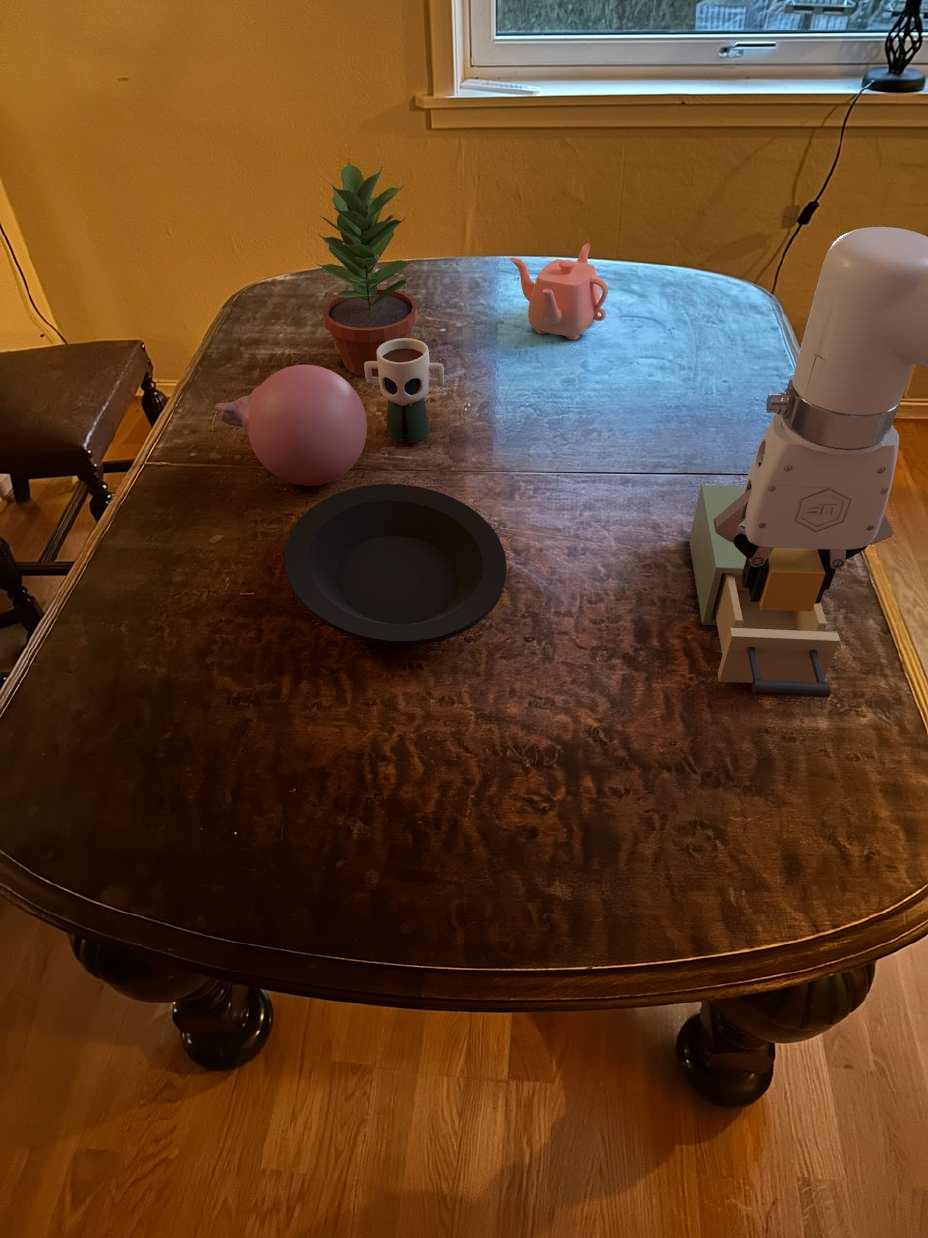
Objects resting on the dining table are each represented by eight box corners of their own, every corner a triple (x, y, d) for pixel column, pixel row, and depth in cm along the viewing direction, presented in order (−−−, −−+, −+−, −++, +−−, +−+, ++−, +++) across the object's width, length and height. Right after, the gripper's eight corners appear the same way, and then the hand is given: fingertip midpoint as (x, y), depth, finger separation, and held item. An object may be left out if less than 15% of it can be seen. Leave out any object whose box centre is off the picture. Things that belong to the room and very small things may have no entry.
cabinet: (808, 629, 98) (829, 571, 92) (702, 625, 99) (715, 567, 93) (785, 544, 108) (802, 487, 102) (689, 540, 109) (700, 484, 103)
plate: (551, 622, 99) (553, 585, 95) (362, 712, 91) (357, 676, 87) (425, 496, 116) (423, 460, 112) (256, 562, 108) (248, 526, 104)
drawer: (833, 730, 87) (853, 685, 82) (726, 725, 88) (739, 679, 83) (797, 596, 100) (812, 550, 95) (704, 592, 101) (715, 547, 96)
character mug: (367, 446, 125) (357, 362, 116) (375, 418, 130) (366, 336, 121) (443, 449, 124) (440, 364, 115) (449, 421, 129) (445, 338, 120)
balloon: (254, 433, 128) (231, 334, 117) (386, 449, 124) (376, 348, 113) (208, 497, 117) (179, 394, 106) (351, 516, 114) (337, 412, 103)
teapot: (541, 354, 143) (544, 287, 135) (508, 316, 152) (508, 252, 144) (622, 337, 146) (629, 271, 138) (584, 301, 155) (589, 238, 148)
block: (801, 577, 79) (814, 539, 76) (812, 611, 76) (825, 573, 73) (751, 575, 79) (762, 538, 76) (760, 610, 76) (771, 572, 73)
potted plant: (345, 334, 149) (321, 139, 127) (431, 344, 146) (421, 146, 124) (311, 378, 139) (279, 175, 117) (403, 390, 135) (387, 183, 114)
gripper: (729, 437, 63) (689, 619, 76) (975, 441, 62) (892, 625, 74) (715, 382, 68) (680, 561, 81) (941, 385, 67) (869, 566, 80)
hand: (782, 590), depth 77 cm, fingers closed on block, 4 cm apart
